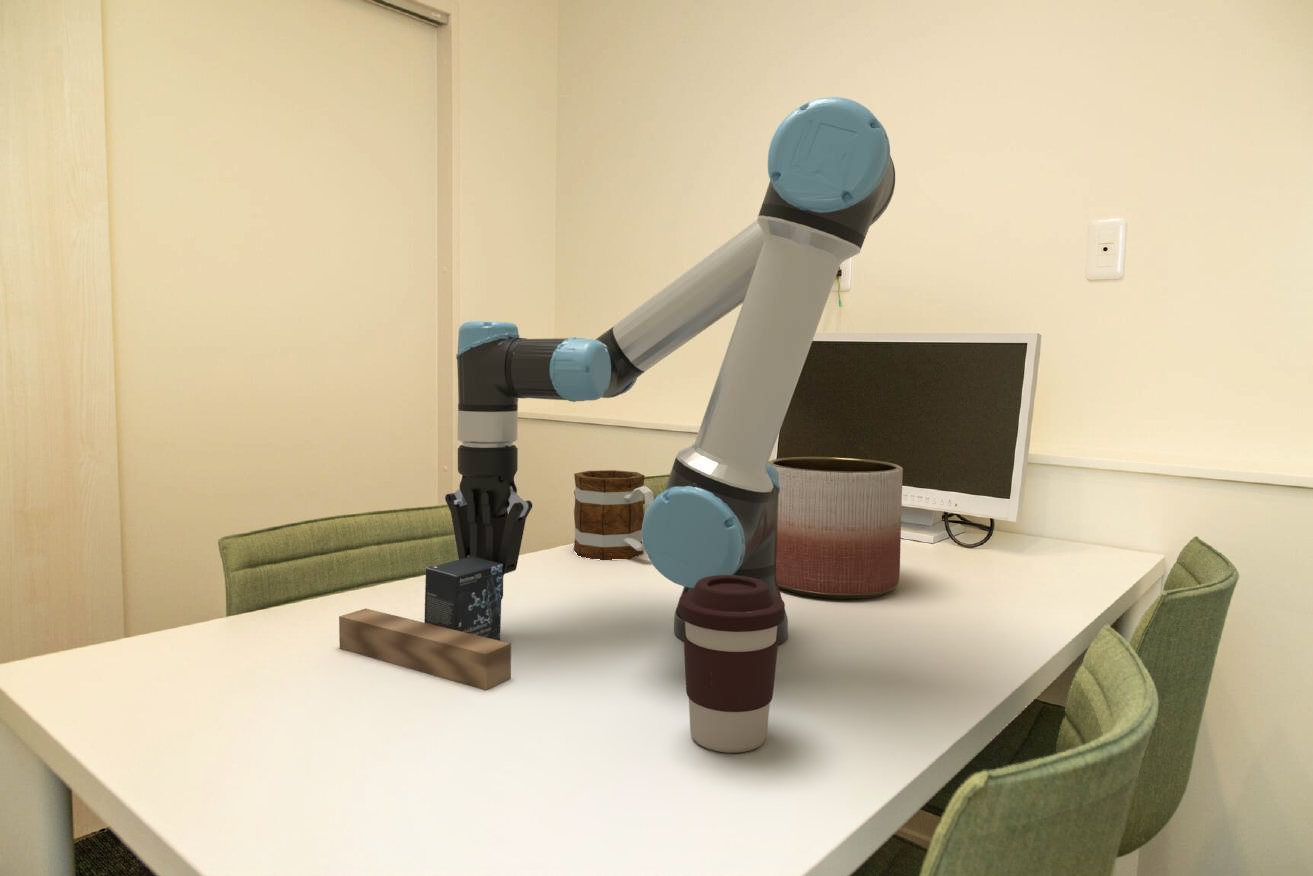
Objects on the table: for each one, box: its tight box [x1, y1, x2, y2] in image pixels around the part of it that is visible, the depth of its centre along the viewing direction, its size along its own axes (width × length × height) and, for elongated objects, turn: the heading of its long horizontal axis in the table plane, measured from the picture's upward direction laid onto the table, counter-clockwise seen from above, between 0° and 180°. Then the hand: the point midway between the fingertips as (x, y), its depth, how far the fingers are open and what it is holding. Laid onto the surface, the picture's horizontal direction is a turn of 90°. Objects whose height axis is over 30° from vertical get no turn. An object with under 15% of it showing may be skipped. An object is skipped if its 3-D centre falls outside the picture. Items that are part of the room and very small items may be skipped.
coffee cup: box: [678, 575, 786, 754], centre depth 76 cm, size 10×10×15 cm
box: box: [423, 556, 503, 641], centre depth 99 cm, size 8×6×11 cm
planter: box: [768, 456, 904, 600], centre depth 133 cm, size 22×22×20 cm
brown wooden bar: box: [338, 607, 512, 691], centre depth 95 cm, size 24×4×4 cm, turn 59°
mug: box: [573, 469, 655, 561], centre depth 151 cm, size 20×14×15 cm
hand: (487, 623), depth 105 cm, fingers closed
